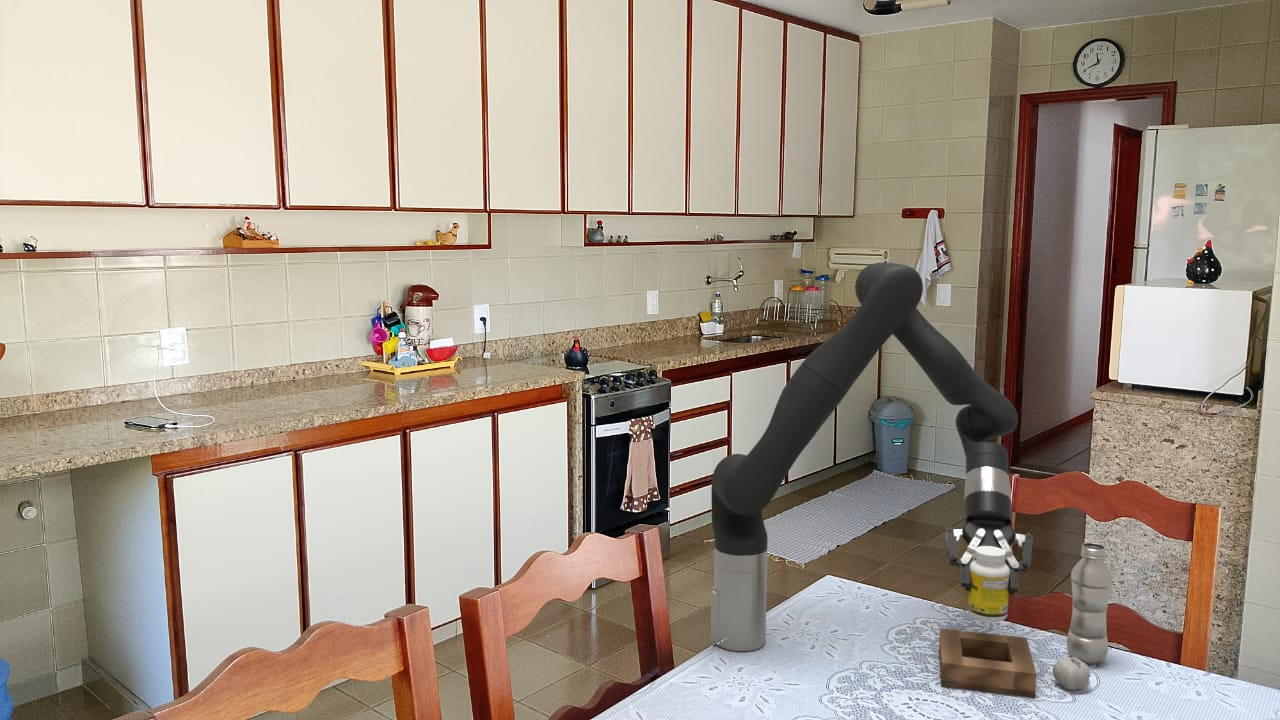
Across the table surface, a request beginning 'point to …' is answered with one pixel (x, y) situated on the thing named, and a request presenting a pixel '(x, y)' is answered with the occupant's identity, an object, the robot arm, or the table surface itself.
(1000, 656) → the wooden square tray
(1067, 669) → the garlic
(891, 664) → the table surface
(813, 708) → the table surface
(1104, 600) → the plastic bottle
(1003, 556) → the pill bottle
